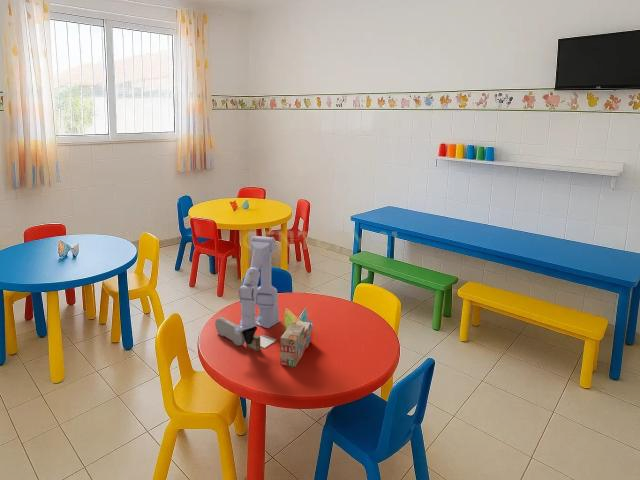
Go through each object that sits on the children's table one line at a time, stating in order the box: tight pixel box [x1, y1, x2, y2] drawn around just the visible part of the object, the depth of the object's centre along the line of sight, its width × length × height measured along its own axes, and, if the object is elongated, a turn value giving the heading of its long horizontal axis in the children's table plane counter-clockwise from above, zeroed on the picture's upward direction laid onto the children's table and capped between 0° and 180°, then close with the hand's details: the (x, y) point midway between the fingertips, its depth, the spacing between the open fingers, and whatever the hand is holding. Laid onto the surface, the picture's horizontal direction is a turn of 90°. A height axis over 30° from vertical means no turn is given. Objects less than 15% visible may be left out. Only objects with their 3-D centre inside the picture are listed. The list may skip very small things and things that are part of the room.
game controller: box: [214, 316, 246, 347], centre depth 200 cm, size 20×2×8 cm, turn 47°
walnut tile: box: [245, 334, 261, 352], centre depth 193 cm, size 2×6×6 cm, turn 57°
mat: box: [260, 334, 277, 349], centre depth 199 cm, size 8×8×1 cm
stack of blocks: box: [279, 320, 312, 368], centre depth 190 cm, size 21×6×12 cm, turn 164°
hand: (248, 343), depth 191 cm, fingers closed
